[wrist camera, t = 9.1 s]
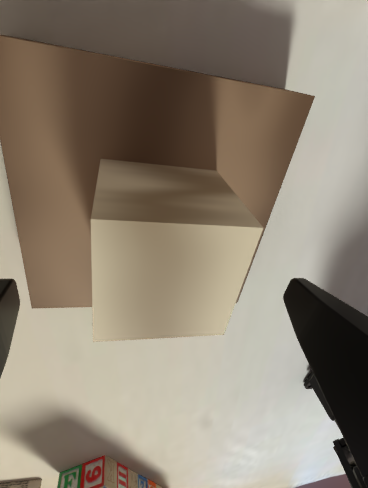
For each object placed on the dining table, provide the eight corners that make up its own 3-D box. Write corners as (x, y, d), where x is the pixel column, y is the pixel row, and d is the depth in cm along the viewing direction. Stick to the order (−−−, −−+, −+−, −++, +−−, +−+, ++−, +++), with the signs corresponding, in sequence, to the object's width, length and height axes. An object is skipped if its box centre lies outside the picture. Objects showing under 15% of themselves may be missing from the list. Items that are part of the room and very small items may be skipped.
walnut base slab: (285, 89, 13) (314, 96, 11) (225, 277, 20) (237, 303, 18) (6, 35, 10) (-20, 32, 8) (42, 277, 17) (32, 308, 15)
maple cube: (216, 170, 12) (263, 227, 8) (195, 259, 15) (223, 334, 11) (100, 158, 11) (90, 218, 7) (100, 257, 14) (93, 341, 10)
